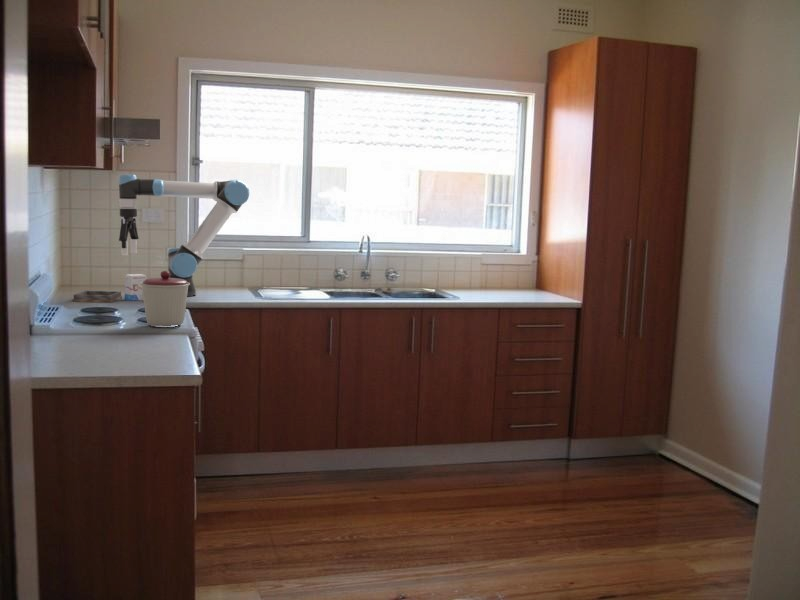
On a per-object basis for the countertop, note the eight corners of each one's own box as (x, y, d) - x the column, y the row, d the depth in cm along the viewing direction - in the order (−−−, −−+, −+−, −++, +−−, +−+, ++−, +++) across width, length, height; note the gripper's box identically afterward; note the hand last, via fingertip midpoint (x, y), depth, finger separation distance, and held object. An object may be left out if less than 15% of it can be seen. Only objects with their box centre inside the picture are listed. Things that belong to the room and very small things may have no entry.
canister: (197, 324, 323) (197, 270, 320) (176, 331, 305) (177, 274, 303) (154, 321, 326) (154, 267, 324) (131, 328, 309) (131, 271, 306)
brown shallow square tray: (122, 297, 391) (122, 291, 391) (111, 302, 374) (111, 295, 374) (85, 296, 390) (85, 290, 390) (72, 301, 373) (72, 294, 373)
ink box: (130, 300, 382) (130, 275, 380) (124, 299, 385) (124, 274, 383) (146, 299, 389) (146, 274, 387) (140, 298, 392) (140, 273, 390)
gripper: (128, 207, 395) (129, 252, 397) (111, 208, 370) (112, 256, 373) (144, 207, 395) (145, 252, 397) (128, 208, 370) (129, 256, 373)
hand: (129, 254), depth 385 cm, fingers open, 13 cm apart
